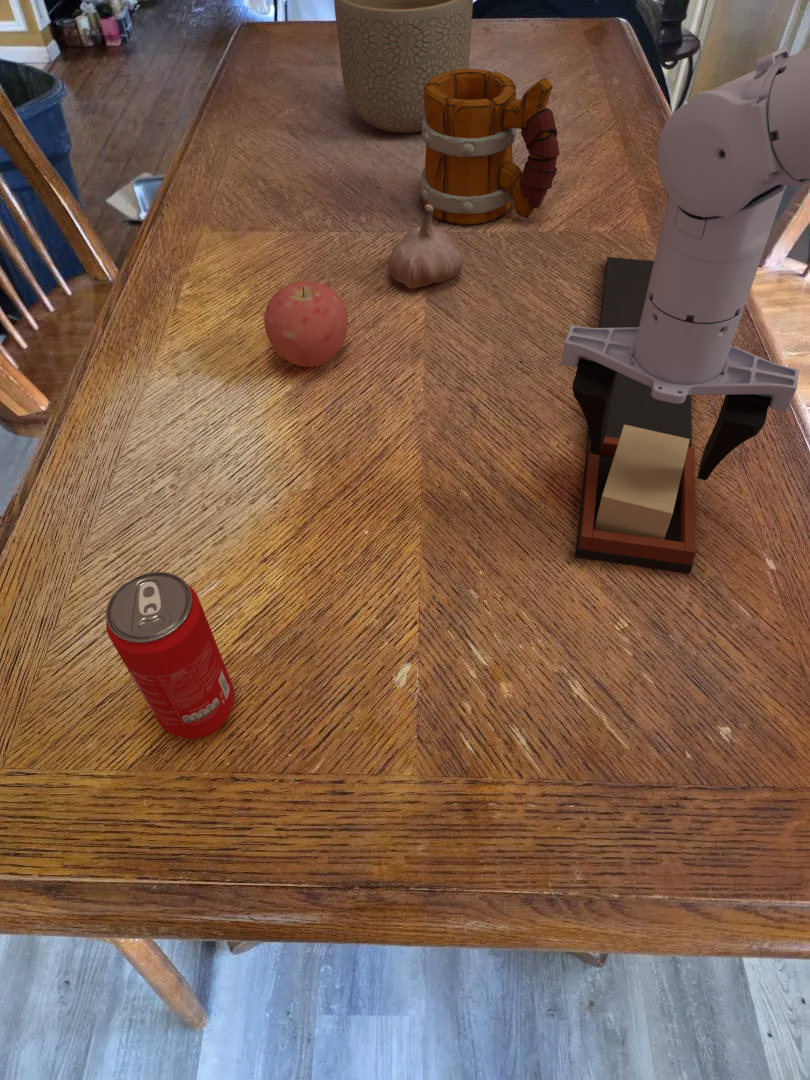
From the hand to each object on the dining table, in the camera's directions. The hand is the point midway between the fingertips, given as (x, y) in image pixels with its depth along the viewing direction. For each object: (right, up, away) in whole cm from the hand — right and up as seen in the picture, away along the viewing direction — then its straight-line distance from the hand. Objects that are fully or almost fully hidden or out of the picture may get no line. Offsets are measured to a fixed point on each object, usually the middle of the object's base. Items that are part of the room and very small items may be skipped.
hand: (649, 457), depth 59 cm
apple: (-27, +11, +18) cm, 34 cm away
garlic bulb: (-16, +21, +26) cm, 37 cm away
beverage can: (-32, -17, -5) cm, 36 cm away
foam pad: (0, -3, +4) cm, 5 cm away
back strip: (+3, +7, +13) cm, 16 cm away
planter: (-18, +51, +50) cm, 74 cm away
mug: (-9, +32, +35) cm, 48 cm away
